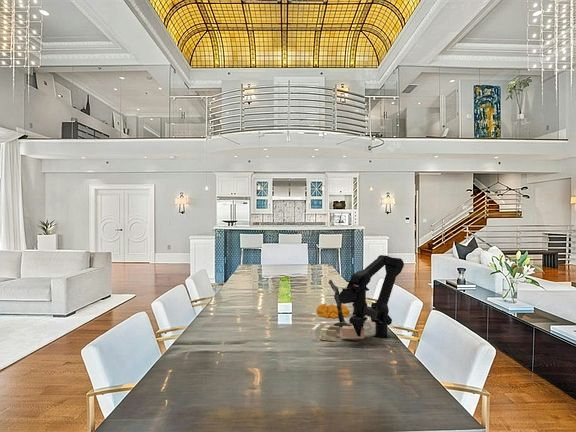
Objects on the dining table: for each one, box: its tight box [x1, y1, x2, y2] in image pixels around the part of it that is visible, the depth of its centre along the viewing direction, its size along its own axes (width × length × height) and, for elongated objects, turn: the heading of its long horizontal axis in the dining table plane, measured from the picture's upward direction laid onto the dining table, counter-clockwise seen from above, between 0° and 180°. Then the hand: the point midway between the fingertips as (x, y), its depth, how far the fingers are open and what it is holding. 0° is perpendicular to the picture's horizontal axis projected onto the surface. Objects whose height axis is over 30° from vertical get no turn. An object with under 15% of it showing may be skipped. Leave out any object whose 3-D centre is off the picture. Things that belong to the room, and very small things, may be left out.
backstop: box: [311, 323, 322, 341], centre depth 198 cm, size 10×2×5 cm, turn 161°
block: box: [320, 324, 341, 342], centre depth 196 cm, size 9×7×5 cm
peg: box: [341, 325, 366, 339], centre depth 192 cm, size 4×10×4 cm, turn 71°
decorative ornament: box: [316, 303, 350, 320], centre depth 247 cm, size 19×5×30 cm
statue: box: [328, 279, 352, 331], centre depth 214 cm, size 10×12×25 cm
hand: (359, 334), depth 191 cm, fingers closed on peg, 4 cm apart
